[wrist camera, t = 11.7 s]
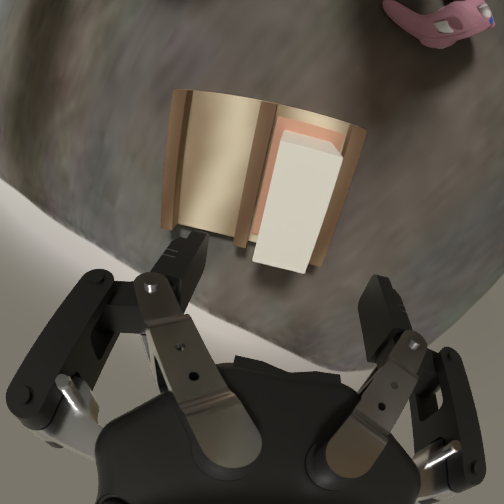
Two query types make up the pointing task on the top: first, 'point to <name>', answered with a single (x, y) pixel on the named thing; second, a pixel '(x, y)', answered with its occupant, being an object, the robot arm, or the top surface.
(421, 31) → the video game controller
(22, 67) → the top surface
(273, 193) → the plug block
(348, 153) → the slot rack
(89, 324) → the robot arm
